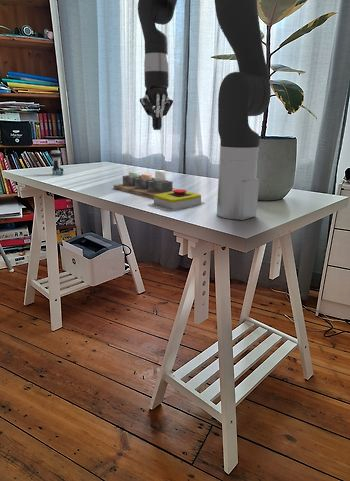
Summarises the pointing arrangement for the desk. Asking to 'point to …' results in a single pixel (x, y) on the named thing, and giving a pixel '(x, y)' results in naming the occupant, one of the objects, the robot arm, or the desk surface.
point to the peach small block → (146, 176)
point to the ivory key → (160, 176)
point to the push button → (56, 162)
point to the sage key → (133, 174)
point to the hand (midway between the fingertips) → (157, 129)
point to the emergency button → (176, 200)
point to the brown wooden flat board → (144, 186)
